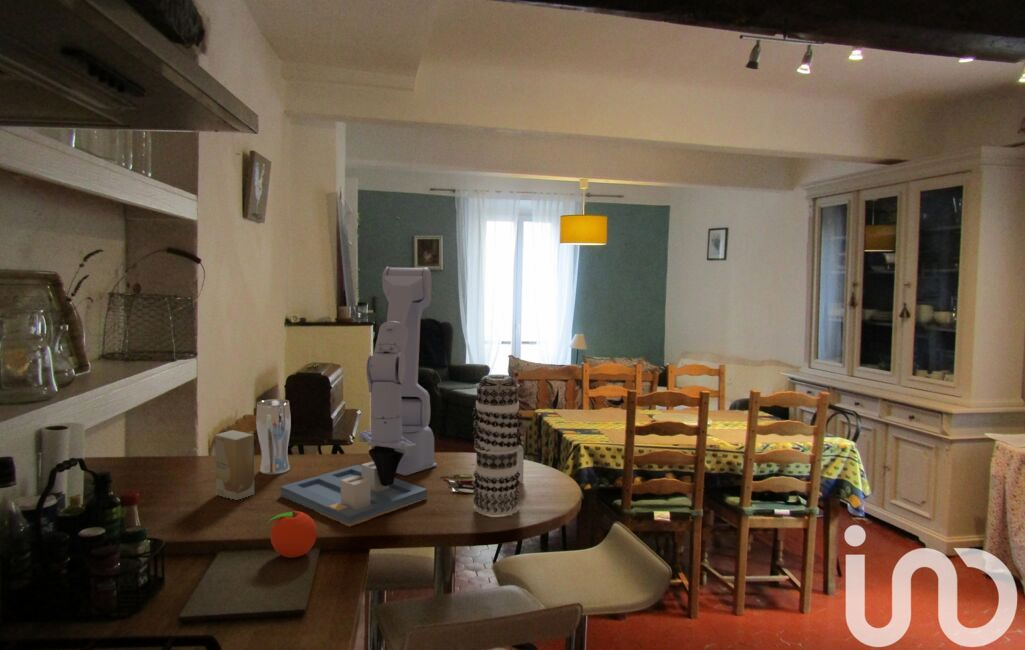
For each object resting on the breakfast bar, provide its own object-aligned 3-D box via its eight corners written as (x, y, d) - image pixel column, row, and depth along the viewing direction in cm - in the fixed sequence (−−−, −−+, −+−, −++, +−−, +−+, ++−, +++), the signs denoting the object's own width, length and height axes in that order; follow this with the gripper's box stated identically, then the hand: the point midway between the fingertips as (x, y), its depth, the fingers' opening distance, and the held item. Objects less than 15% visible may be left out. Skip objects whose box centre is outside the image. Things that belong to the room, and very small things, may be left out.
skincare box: (215, 495, 131) (212, 434, 130) (233, 489, 135) (231, 429, 134) (238, 502, 128) (235, 439, 127) (256, 494, 132) (254, 433, 131)
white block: (376, 483, 136) (376, 459, 135) (389, 488, 133) (389, 464, 132) (361, 488, 133) (361, 463, 132) (374, 493, 130) (374, 468, 130)
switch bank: (357, 473, 145) (357, 464, 145) (427, 499, 131) (427, 488, 131) (281, 496, 131) (280, 485, 131) (349, 527, 117) (349, 515, 117)
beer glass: (279, 463, 152) (277, 397, 150) (298, 469, 147) (297, 401, 146) (251, 471, 146) (249, 402, 144) (270, 477, 142) (268, 407, 140)
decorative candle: (463, 513, 124) (463, 379, 121) (483, 496, 133) (484, 370, 130) (509, 521, 121) (511, 383, 118) (527, 503, 129) (529, 374, 126)
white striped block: (357, 499, 127) (356, 474, 126) (370, 505, 124) (370, 479, 124) (340, 505, 124) (340, 479, 123) (354, 510, 121) (353, 484, 121)
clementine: (260, 567, 102) (258, 522, 102) (268, 547, 109) (267, 505, 108) (314, 564, 104) (313, 519, 103) (319, 544, 111) (318, 502, 110)
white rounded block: (523, 487, 138) (524, 430, 137) (495, 487, 138) (496, 429, 137) (523, 480, 142) (523, 424, 141) (496, 479, 142) (496, 424, 141)
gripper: (346, 412, 131) (347, 480, 132) (395, 426, 121) (395, 499, 123) (375, 406, 136) (376, 472, 137) (424, 418, 127) (424, 489, 128)
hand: (387, 484), depth 130 cm, fingers closed
